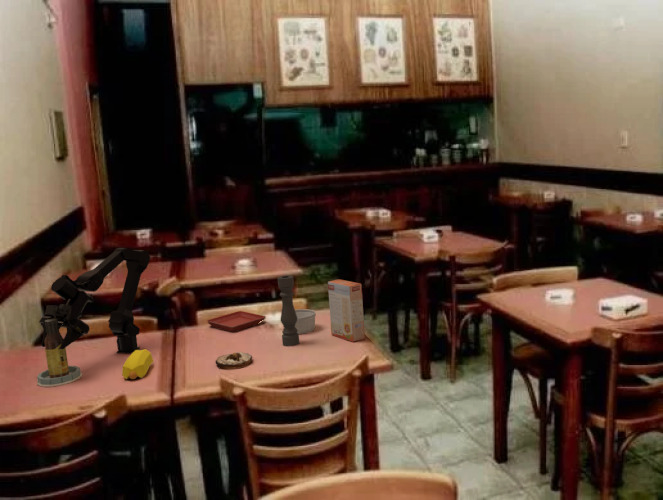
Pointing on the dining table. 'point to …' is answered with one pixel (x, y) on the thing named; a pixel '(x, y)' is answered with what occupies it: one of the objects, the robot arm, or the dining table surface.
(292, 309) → the candle holder
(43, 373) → the ring collar
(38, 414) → the dining table surface
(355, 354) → the dining table surface
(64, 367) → the sauce bottle
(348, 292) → the cracker box
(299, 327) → the ramekin
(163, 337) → the dining table surface
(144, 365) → the yellow faceted rock
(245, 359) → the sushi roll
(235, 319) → the plant saucer
